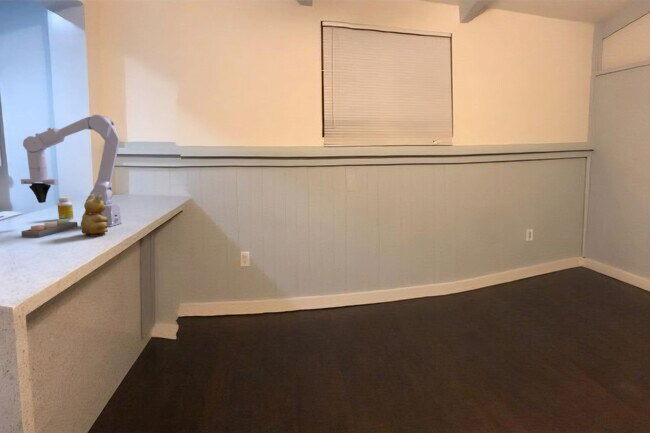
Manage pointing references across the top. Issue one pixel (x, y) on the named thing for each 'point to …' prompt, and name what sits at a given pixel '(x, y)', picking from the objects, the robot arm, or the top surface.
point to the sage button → (63, 221)
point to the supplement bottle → (65, 208)
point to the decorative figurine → (94, 217)
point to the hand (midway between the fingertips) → (42, 202)
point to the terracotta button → (37, 228)
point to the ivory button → (50, 224)
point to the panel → (49, 230)
